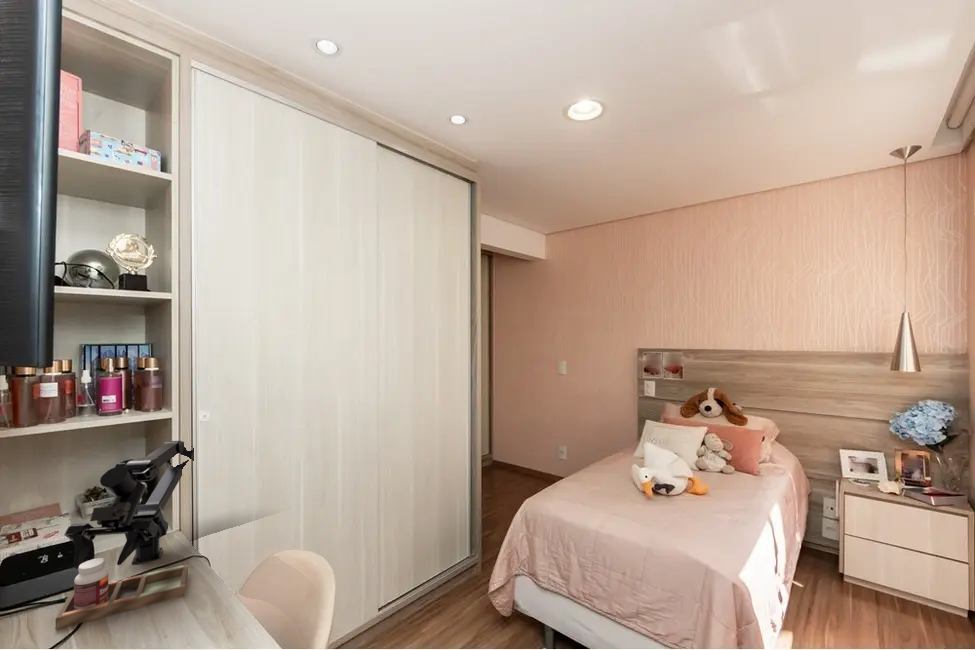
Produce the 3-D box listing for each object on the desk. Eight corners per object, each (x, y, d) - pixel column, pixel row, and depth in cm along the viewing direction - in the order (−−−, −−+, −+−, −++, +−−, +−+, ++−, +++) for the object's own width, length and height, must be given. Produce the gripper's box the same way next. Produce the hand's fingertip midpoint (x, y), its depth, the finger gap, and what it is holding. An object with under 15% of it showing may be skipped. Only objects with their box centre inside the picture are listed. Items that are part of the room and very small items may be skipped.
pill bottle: (105, 610, 104) (106, 565, 104) (70, 620, 101) (71, 573, 101) (110, 597, 109) (110, 553, 109) (77, 605, 106) (77, 561, 106)
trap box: (55, 629, 98) (55, 617, 98) (70, 602, 107) (70, 591, 107) (184, 595, 110) (184, 584, 110) (188, 574, 120) (188, 563, 120)
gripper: (70, 493, 110) (33, 559, 100) (152, 488, 114) (125, 551, 103) (91, 511, 118) (59, 574, 107) (168, 506, 122) (144, 566, 111)
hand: (97, 566), depth 107 cm, fingers open, 9 cm apart
